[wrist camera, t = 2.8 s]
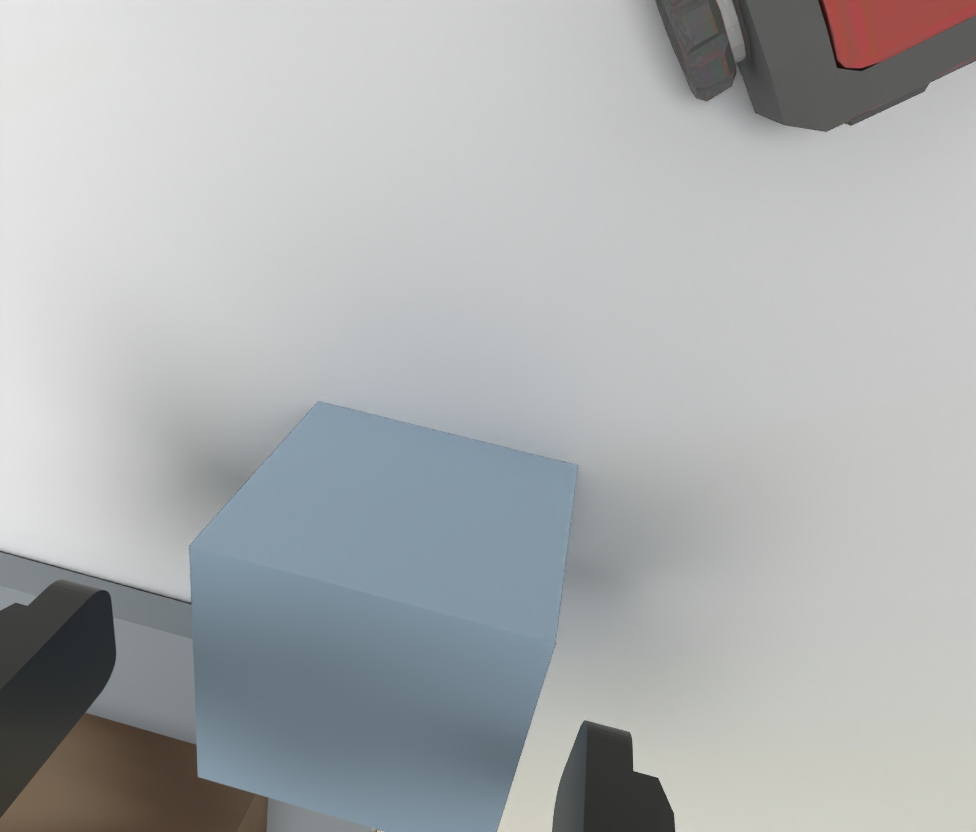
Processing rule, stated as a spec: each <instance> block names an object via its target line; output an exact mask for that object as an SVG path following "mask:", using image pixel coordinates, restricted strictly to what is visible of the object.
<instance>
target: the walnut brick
mask: <svg viewBox="0 0 976 832" xmlns="http://www.w3.org/2000/svg"><path fill="white" fill-rule="evenodd" d="M267 812H268V797H265V796H262V795H258V794H255V793H251V792H248V791H244V790H241V789H238V788H234V787H231V786H227V785H224V784H220V783H217V782H214V781H210V780H207V779H203V778H200V777H198V769H197V745H196V744H192V743H189V742H185V741H182V740H178V739H175V738H171V737H168V736H165V735H161V734H158V733H154V732H151V731H147V730H144V729H140V728H137V727H133V726H130V725H127V724H123V723H120V722H116V721H113V720H109V719H106V718H102V717H99V716H95V715H92V714H89V713H84V715H83V716H82V717H81V718H80V720H79V721H78V722H77V723H76V725H75V726H74V727H73V728H72V730H71V731H70V732H69V733H68V735H67V736H66V737H65V738H64V740H63V741H62V742H61V743H60V745H59V746H58V747H57V748H56V750H55V751H54V752H53V753H52V754H51V756H50V757H49V758H48V759H47V761H46V762H45V763H44V764H43V766H42V767H41V768H40V769H39V771H38V772H37V773H36V774H35V776H34V777H33V778H32V779H31V781H30V782H29V783H28V784H27V786H26V787H25V788H24V789H23V791H22V792H21V793H20V794H19V796H18V797H17V798H16V799H15V801H14V802H13V803H12V804H11V806H10V807H9V808H8V809H7V811H6V812H5V813H4V814H3V816H2V817H1V818H0V832H267Z"/></svg>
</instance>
